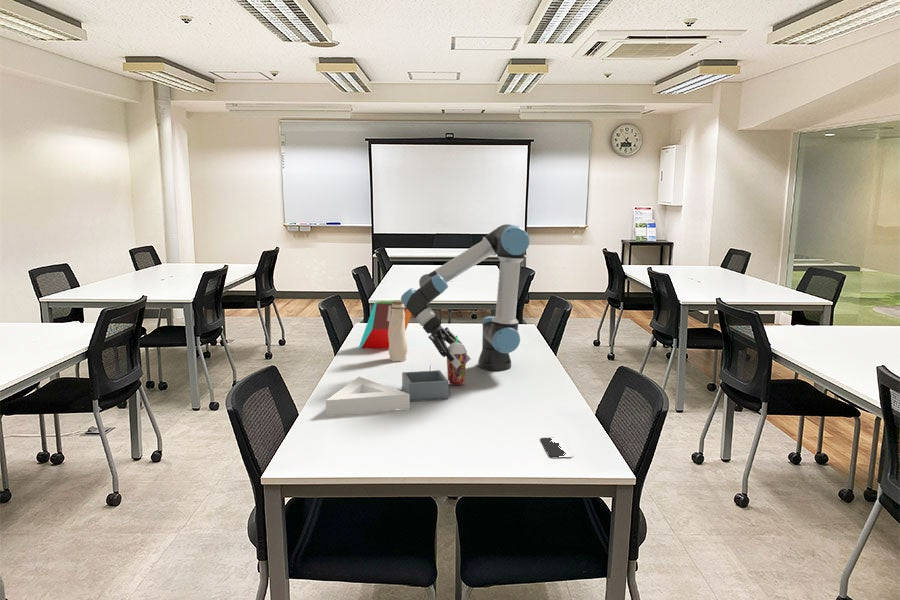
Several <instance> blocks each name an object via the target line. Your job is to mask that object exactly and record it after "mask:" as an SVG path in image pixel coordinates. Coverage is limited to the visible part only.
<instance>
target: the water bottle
mask: <svg viewBox="0 0 900 600" xmlns="http://www.w3.org/2000/svg"><path fill="white" fill-rule="evenodd" d="M392 301H393V304H392V306H389V309H388V318H387V321H390V322H389V328H388V339H389V348H388V354H389V360H390V361H391V360H392V361H391V362H396V361H400V362H405V361H407V355H408V339H407V333H406V331H405V312H404V308H406V307H405V306H404V304H403V303H402V301H401V299H398V300H397V299H395V300H392Z"/></svg>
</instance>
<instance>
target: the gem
mask: <svg viewBox="0 0 900 600" xmlns="http://www.w3.org/2000/svg"><path fill="white" fill-rule="evenodd" d="M393 301H394V300H392V301H391V300H388V301H386V300H385V301H383V300H382V301H376V302H374V303H373V306H372V309H371V312H370V315H369V317H368V320H367V323H366V326H365V329H364V332H363V334H362V337H361V340H360V343H359V345H358V348H359V347H360V348H359V349H361V348H373V349H389V339H388V328H389V322H390V321H387V318H388V309H389V306H392V304H393ZM404 306H405V305H404ZM404 312H405V332H406V330H407V327H408V325H409V323H410V320H411V317H412V316H413V315H412V314H411V313H410V312H409V310H408V309H407V308H404Z"/></svg>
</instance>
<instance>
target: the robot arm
mask: <svg viewBox="0 0 900 600" xmlns="http://www.w3.org/2000/svg"><path fill="white" fill-rule="evenodd" d="M529 237H530V236H529V234H528V233H527V231H526V230H525V229H524V228H523V227H521V226H519V225H513V224H502V225H500V226H498V227H497V228H495V229H494V230H492V231H490V232H489V233H488V234H486V235H485V236H483V237H482V240H481V241H480V242H479V241H478V243H476V244H474V245H473V246H471V247H469V248H468V249H466V250H465V251H463V252H461V253H460V254H458V255H456V257H454V258H452V259H450V260H449V261H447V262H446V263H444V264H443V265H441V266H439V267H438V268H436V269H434V270H433V271H431V272H429V273H426V274H423V275H421V277H420V278H419V282H418V284H419V288H417V289H415V288H414V287H412V288H409V289H408V290H406V291H405V292H404V293H403V294H402V295H401V296H400V300H401V301H402V303H403V304H404V305H405V307H406V308H407V309H408V310H409V312H410V313H411V314H412V315H411V316H412V317H414V319H415V320H416V322H417V324H419V325H420V326H421V327H422V329H423V330H424V332H426V334H428V339H429V340H430V341H431V342H432V344H433V345H434V347H435V348H436V350H437V351H438V353H439V354H440V356H441V357H443V358H445V357H446V359H447V358H448V359H449V360H450V361H451V363H452V364H453V365H454V366H455V368H456V369H457V368H458V367H459V366H460V365H461V363H460V362H459V361H458V359H457V358H456V357H455V356H454V354H453V353H452V352H450V351H449V349H448V347H449V346H448V345H450V344H452V343H454V342H456V335H455V334H453V332H451V330H450V328H448V327H447V326H446V327H445V328H444V327H443V326H442V325H441V324H442V321H441V319H439V317H438V316H436V313H435V312H434V311H433V310H432V308H431V307H430V306H429V304H431V302H433V300H435V299H436V298H437V297H439V296H440V295H441V294H443V293H444V292H445V291H446V290H447V289H448V288H449V285H448V283H449V282H450V281H452V280H454V279H455V278H457V277H458V276H460V275H462V274H463V273H465V272H466V271H468V270H470V269H471V268H473V267H475V266H476V265H477V264H479V263H481V262H483V261H484V260H486V259H487V258H489V257H490V256H496V257H497V258H498V260H499V262H500V263H499V271H498V273H499V274H498V284H497V296H496V305H495V306H496V307H495V316H494V315H493V316H484V317H483V319H482V340H481V341H482V342H481V344H482V347H481V348H482V349H481V352H480V355H479V357H478V361H477V366H478V368H480V369H483V370H487V371H505V370H509V369H511V367H512V360H511V356H510V353H512V352H515V350H517V349H518V348H519V345H520V342H521V337H520V333H519V320H518V319H517V318H516V316H517V306H518V304H517V303H518V295H519V294H518V293H519V284H520V283H519V282H520V275H521V274H520V272H521V262H523V261H524V260H525V257H526V251H527V250H528V248H529V246H530V238H529ZM429 334H430V335H429ZM457 342H459V343H462V341H461V340H460V339H459V338H457ZM447 344H448V345H447ZM449 352H450V353H449ZM470 360H472V358H471V357H470V355H468V353H467V354H466V364H467V363H468V362H469V361H470Z"/></svg>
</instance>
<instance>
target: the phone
mask: <svg viewBox="0 0 900 600" xmlns="http://www.w3.org/2000/svg"><path fill="white" fill-rule="evenodd" d="M551 438H552V437H540V438H539V439H540V440H541V441H540V443H541V442H542V443H543V444H542V443H541V444H542V446H543V445H544V446H543V448H544V447H545V448H544V450H545V449H546V450H545V452H546V451H547V452H548V454H549V456H551V457H559V456H564V455H565V454H566V453H565V452H564V451H563V450H561V449H560V448H561V447H560V446H559V443H555V442H554V443H553V442H552V441H551V440H552V439H551ZM550 441H551V442H550ZM558 446H559V447H560V448H559V447H558ZM547 452H546V453H547ZM564 453H565V454H564ZM548 454H547V455H548ZM563 454H564V455H563ZM549 456H548V457H549Z"/></svg>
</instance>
